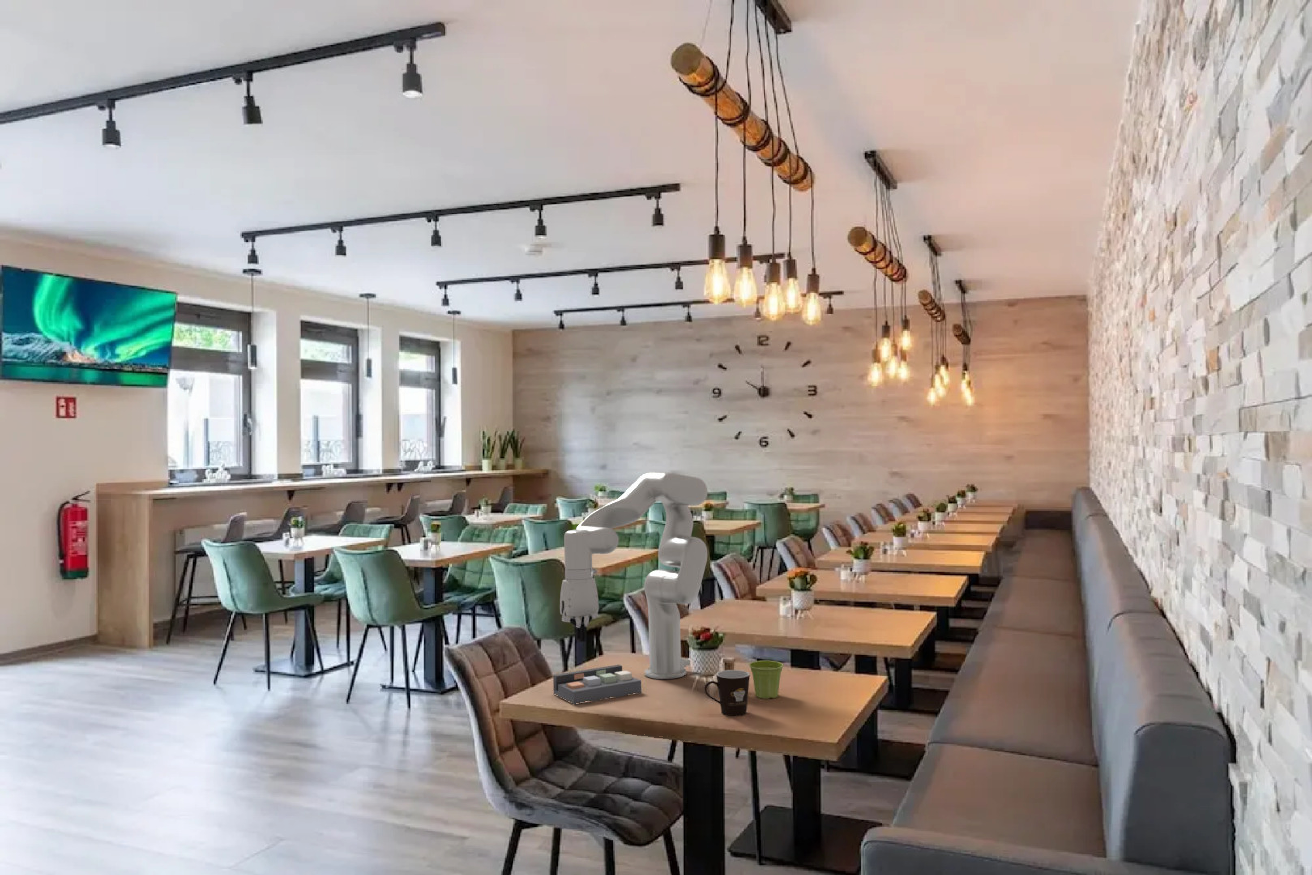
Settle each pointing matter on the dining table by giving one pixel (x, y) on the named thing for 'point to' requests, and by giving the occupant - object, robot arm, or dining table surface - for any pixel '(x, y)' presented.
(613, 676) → the key sage
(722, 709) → the coffee mug
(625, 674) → the key cream
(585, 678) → the key slate
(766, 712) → the dining table surface
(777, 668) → the plant pot
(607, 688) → the keypad
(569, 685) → the key terracotta
